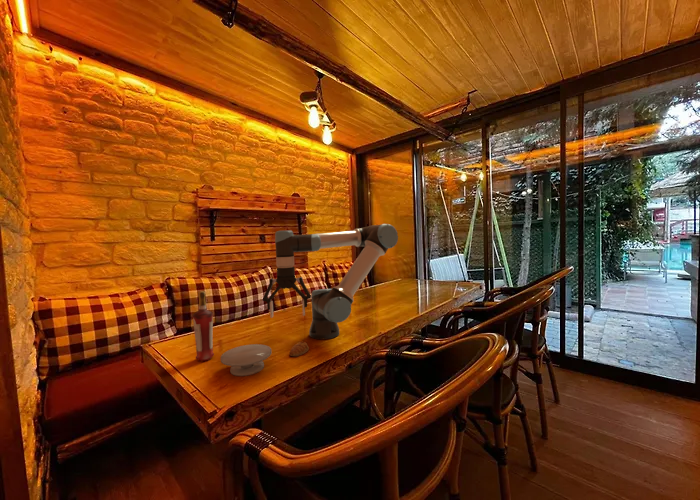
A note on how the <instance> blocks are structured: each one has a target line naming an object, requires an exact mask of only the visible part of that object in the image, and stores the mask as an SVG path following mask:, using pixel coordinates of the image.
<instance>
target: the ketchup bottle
mask: <svg viewBox="0 0 700 500" xmlns="http://www.w3.org/2000/svg"><path fill="white" fill-rule="evenodd" d="M197 293H198V294H197V295H198V311H196V312H194V313H193V314H192V320H193V331H194V339H195V350H196V356H195V359H196V360H198V361H199V362H207V361H209V360H211V359H212V358H213V357H214V356H215V353H214V348H213V343H214V341H213V339H214V337H213V336H214V335H213V330H214V329H213V328H214V326H213V325H214V324H213V323H214V319H213V318H214V317H213V316H214V314H213V311H211V310H209V309H207V305H206V304H207V302H206V291H198V292H197Z"/></svg>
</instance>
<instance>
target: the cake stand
mask: <svg viewBox="0 0 700 500" xmlns="http://www.w3.org/2000/svg"><path fill="white" fill-rule="evenodd" d="M271 355H272V348H271V347H270V346H269V345H265V344H261V343H259V344H258V343H255V344H246V345H245V344H244V345H240V346H236V347H233V348H231V349H228V350H226V351H225V352H224V353H222V354H221V355H220V362H221V364H223V365H225V366H229V367H230V369H229V370H230V374H231V375H233V376H234V377H246V376H253V375H255V374H257V373H259V372H261V371H262V370H263V369H264V368H265V364H264V363H265V362H264V361H265V360H267V359H268V358H269V357H270V356H271Z"/></svg>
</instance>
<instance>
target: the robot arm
mask: <svg viewBox="0 0 700 500" xmlns="http://www.w3.org/2000/svg"><path fill="white" fill-rule="evenodd" d="M274 235H275V236H274V243H275V263H276V264H275V265H276V267H277V268H276V278H269V281H268V283H269V284H268V287H267V289H266V290H265V292H264V296H263V297H262V301H263V302H265V303H266V304H267V310H269V314H270V315H269V316H270V318H273V317H274V301H273V299H274V297H275V296H276V294H277V293H278V292H279V290H280V289H282V290H283V289H293V290H294V291H295V292H296V293H297V295H299V296H300V297H301V298H302V300H301V304H302V316H303V317H305V316H306V308H307V307H308V300H309V299H311V313H312V314H311V316H312V320H311V324H310V326H309V327H310V328H309V333H308V334H309V337H310V338H311V339H316V340H328V339H329V340H330V339H333V338H336V337H338V336H339V335H340V328H339V325H338V323H342V322H344V321H345V320H347V319H348V318H349V317H350V315H351V313H352V304H353V303H354V301H355V300H354V295H355V293H356V292H357V291H358V289H360V287H361V285H362V283H363V282H364V281H365V279H366V277H367V276H368V274H369V273H370V272H371V269H372V268H373V267H374V265H375V264H376V263H377V261H378V260H379V258H380V257H381V256H385V255H386V253H387V251H388V250H389V249H392V248H394V247H395V246H396V245H397V244H398V241H399V236H398V231H397V229H396V227H395V226H394V225H392V224H389V223H382V224H376V225H375V224H373V225H369V226H365V227H361V228H360V227H359V228H354V229H353V230H346V231H335V232H322V233H312V234H311V233H310V234H309V233H308V234H294V232H293V230H278V231H275V234H274ZM350 246H355V247H356V248H359V247H363V249H362V250H361V252H360V253H359V255H358V256H357V258H356V259H355V261H354V262H353V264H352V265H351V266H350V267H349V269H348V270H347V272H346V273H345V275H344V277H343V278H342V279H341V281H340V282H339V284H338V285H336V286H333V287H332V288H322V289H321V288H320V289H313V290H312V291H311V293H310V291H309V289H308V288H307V286H306V284H305V282H304V279H303V276H300V277H296V270H295V269H296V268H295V253H306V252H317V251H320V250H321V249H329V248H338V247H339V248H340V247H350ZM296 282H297V283H299V285H300V286H301V288H302V289H303V291H304V293H303V291H302V290H301V289H300V288H299V287H298V286H297V285H296V284H295V283H296ZM275 283H276V284H277V287H276V288H275V289H274V291H273V292H272V293H271V295H270V296H269V294H270V292H271V290H272V287H273V285H274V284H275ZM268 296H269V297H268Z"/></svg>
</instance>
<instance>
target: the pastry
mask: <svg viewBox="0 0 700 500" xmlns="http://www.w3.org/2000/svg"><path fill="white" fill-rule="evenodd" d="M309 349H310V347H309V346H308V343H307V342H305V341H299V342H297V343H296V344H294V345H292V347H291V348H290V350H289V356H290V357H299V356H302V355H304V354H306V353H307V352H308V351H309Z"/></svg>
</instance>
